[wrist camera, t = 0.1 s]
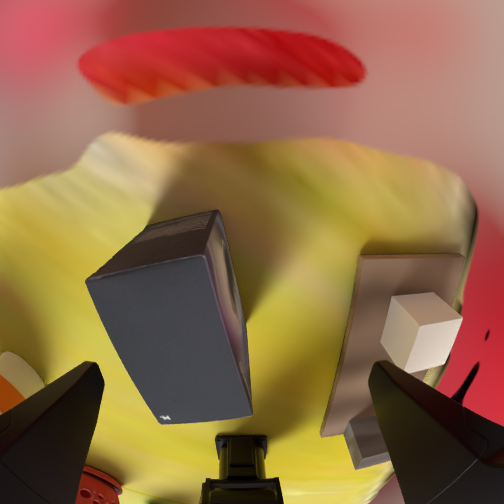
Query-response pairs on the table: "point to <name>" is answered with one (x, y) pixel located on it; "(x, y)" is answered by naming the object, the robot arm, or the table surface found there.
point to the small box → (178, 320)
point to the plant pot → (97, 488)
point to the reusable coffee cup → (16, 381)
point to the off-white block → (419, 331)
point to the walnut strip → (378, 342)
